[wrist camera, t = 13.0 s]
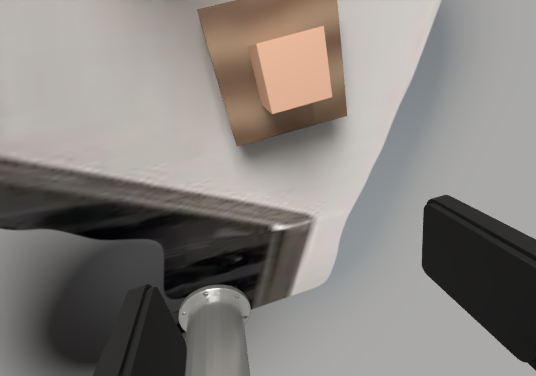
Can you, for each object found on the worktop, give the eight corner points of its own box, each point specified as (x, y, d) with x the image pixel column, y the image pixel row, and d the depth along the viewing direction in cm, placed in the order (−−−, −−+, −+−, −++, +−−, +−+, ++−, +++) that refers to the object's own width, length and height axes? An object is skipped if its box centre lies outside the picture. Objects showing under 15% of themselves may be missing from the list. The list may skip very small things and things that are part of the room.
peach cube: (311, 90, 31) (332, 97, 26) (261, 104, 31) (272, 114, 25) (302, 32, 28) (323, 25, 23) (247, 46, 28) (256, 43, 23)
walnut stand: (331, 109, 38) (347, 115, 33) (233, 135, 37) (236, 146, 32) (317, -12, 31) (335, -24, 27) (199, 17, 30) (197, 9, 26)
